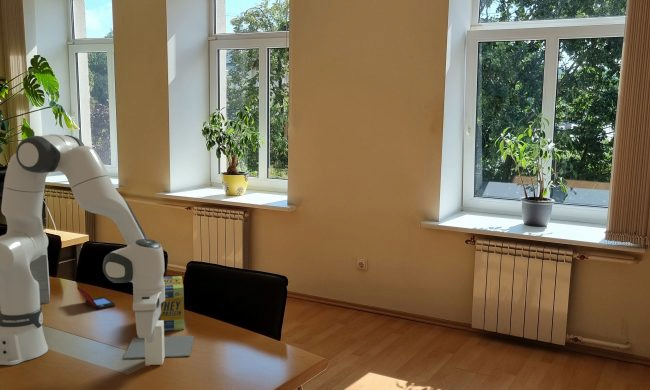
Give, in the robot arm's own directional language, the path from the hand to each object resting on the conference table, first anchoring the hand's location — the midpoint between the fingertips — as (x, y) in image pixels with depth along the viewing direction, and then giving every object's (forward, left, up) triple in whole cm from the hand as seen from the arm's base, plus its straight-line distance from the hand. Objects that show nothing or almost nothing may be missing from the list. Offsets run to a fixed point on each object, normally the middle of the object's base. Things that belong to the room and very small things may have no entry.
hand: (150, 340), depth 175 cm
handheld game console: (-30, +62, -10) cm, 70 cm away
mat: (0, +17, -10) cm, 20 cm away
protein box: (0, +39, -10) cm, 41 cm away
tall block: (0, +6, -10) cm, 11 cm away
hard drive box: (-55, +72, -10) cm, 91 cm away
